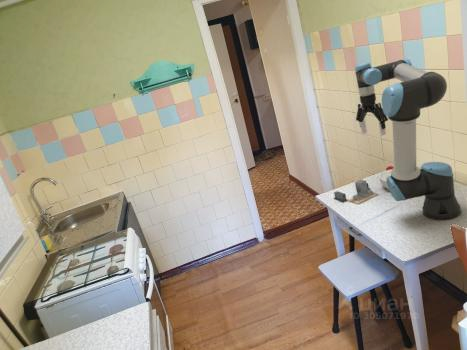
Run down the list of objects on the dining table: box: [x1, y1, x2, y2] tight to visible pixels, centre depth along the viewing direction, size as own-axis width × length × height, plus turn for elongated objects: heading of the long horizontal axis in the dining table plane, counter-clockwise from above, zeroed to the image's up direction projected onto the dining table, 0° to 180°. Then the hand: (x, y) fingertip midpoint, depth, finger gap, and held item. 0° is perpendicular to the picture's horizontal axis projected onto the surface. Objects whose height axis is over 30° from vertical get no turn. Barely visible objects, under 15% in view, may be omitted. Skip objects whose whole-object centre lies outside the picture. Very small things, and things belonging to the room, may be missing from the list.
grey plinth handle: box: [333, 182, 372, 203], centre depth 207 cm, size 8×19×4 cm, turn 114°
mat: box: [347, 191, 379, 205], centre depth 200 cm, size 8×14×1 cm, turn 114°
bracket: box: [385, 165, 394, 171], centre depth 214 cm, size 12×4×8 cm, turn 27°
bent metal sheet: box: [352, 179, 374, 201], centre depth 198 cm, size 4×10×9 cm, turn 115°
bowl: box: [378, 169, 392, 190], centre depth 200 cm, size 18×18×7 cm
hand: (373, 134), depth 197 cm, fingers open, 13 cm apart
